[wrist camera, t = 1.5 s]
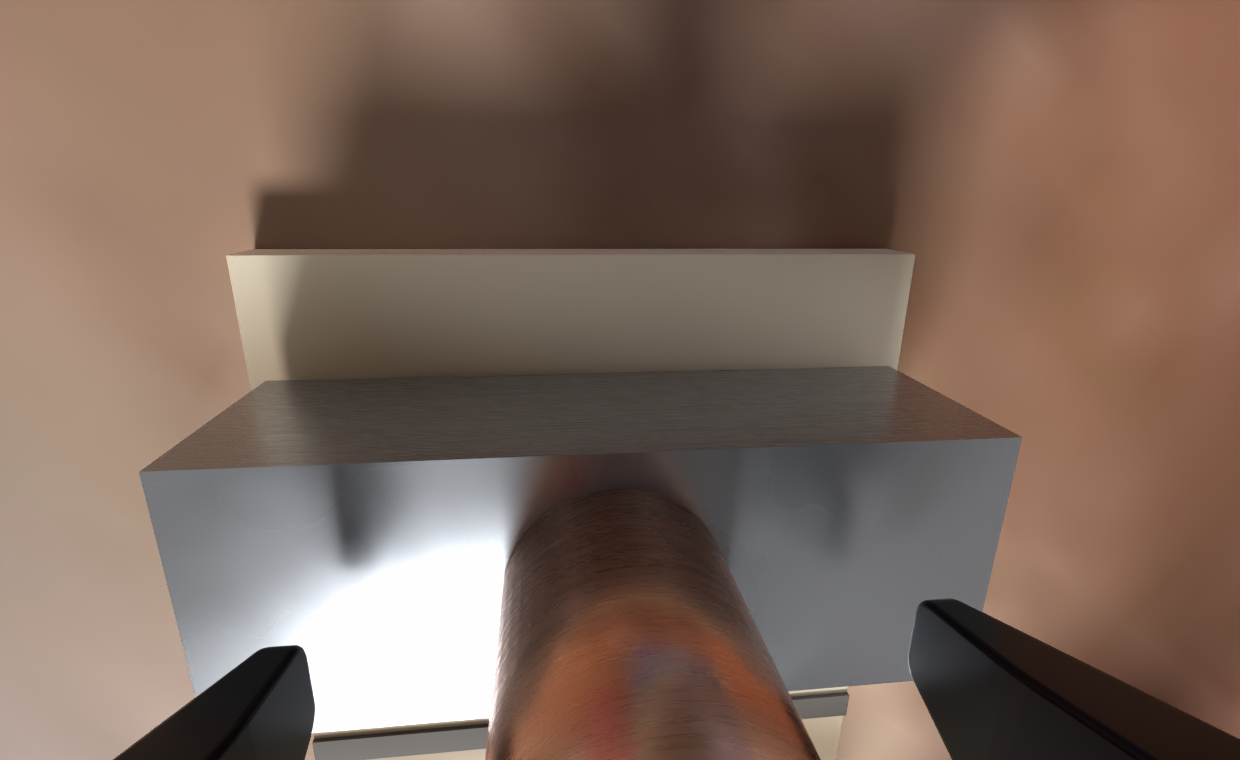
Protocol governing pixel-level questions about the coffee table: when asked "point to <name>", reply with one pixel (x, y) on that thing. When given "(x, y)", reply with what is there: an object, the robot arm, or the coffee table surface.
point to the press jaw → (581, 548)
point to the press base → (562, 351)
